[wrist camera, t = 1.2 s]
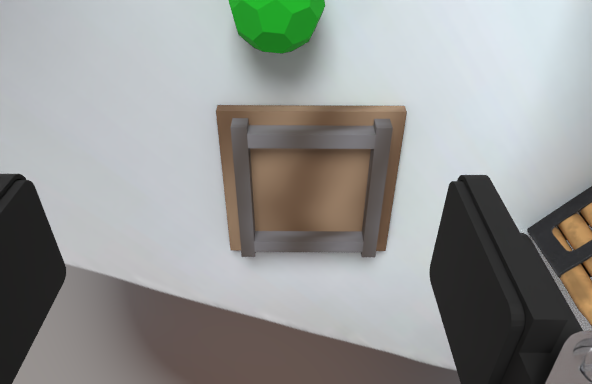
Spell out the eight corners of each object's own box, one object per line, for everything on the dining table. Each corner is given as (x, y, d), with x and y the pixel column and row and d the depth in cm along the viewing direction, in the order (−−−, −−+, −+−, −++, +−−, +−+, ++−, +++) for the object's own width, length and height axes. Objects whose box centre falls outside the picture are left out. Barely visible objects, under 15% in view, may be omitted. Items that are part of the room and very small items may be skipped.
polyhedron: (215, -6, 28) (202, 21, 24) (271, -80, 25) (266, -64, 21) (283, 52, 29) (280, 85, 26) (340, -13, 27) (347, 14, 23)
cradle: (404, 105, 32) (410, 120, 30) (384, 243, 39) (387, 261, 37) (217, 105, 32) (213, 120, 30) (231, 243, 39) (228, 261, 37)
